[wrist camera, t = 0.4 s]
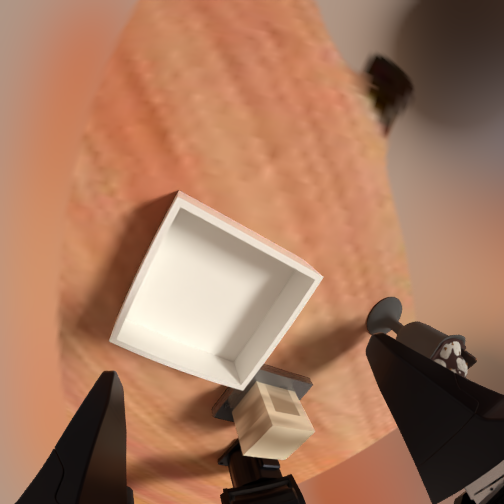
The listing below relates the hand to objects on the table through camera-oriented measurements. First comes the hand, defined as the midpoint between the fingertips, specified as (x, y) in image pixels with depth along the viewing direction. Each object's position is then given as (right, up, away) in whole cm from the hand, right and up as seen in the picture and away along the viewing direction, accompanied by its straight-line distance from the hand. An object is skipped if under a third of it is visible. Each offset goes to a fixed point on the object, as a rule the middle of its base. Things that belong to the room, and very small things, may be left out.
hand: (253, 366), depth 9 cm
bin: (-4, +1, +15) cm, 16 cm away
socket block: (+1, -12, +19) cm, 23 cm away
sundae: (+15, -4, +21) cm, 26 cm away
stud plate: (+1, -12, +20) cm, 24 cm away
